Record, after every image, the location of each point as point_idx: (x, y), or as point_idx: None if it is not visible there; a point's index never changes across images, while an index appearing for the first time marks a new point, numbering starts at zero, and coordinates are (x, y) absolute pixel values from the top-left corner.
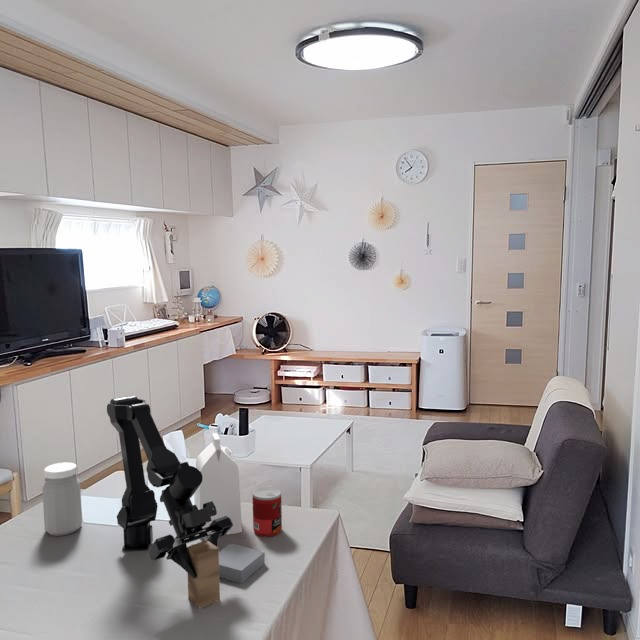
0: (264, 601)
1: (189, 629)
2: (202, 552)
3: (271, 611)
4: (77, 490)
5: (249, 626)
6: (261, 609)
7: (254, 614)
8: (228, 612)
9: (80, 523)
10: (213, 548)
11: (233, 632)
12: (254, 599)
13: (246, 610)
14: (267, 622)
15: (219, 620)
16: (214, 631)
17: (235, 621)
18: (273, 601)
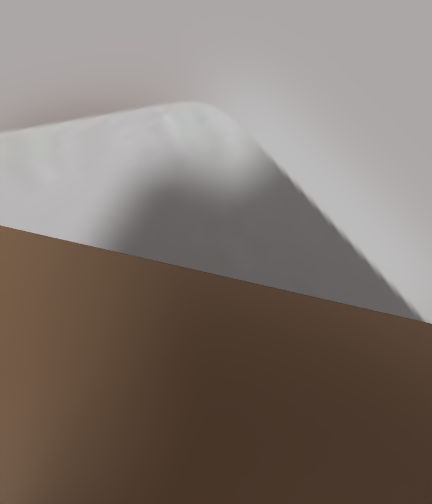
0: (36, 189)
1: (369, 302)
2: (380, 372)
3: (87, 134)
4: None
5: (207, 145)
6: (95, 167)
7: (138, 169)
8: (188, 256)
9: None
10: (82, 296)
11: (265, 166)
12: (42, 230)
13: (133, 208)
14: (152, 113)
15: (251, 248)
16: (307, 218)
17: (216, 197)
18: (18, 161)
